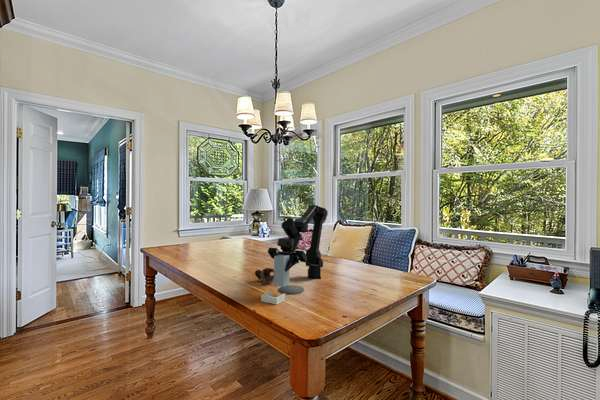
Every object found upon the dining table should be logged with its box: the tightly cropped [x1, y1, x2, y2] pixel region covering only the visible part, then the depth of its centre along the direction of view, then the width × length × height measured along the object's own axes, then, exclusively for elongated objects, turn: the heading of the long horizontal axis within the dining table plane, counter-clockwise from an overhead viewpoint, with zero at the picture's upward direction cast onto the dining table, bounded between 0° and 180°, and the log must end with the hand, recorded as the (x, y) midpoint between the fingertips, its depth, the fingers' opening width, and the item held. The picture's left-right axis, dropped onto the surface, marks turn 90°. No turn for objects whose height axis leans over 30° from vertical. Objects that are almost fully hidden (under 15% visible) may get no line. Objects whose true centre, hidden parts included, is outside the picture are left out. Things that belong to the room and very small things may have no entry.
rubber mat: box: [278, 284, 305, 295], centre depth 137 cm, size 12×12×1 cm
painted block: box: [273, 254, 290, 288], centre depth 129 cm, size 5×5×13 cm
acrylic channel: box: [260, 290, 286, 305], centre depth 123 cm, size 7×8×2 cm
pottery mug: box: [254, 267, 274, 285], centre depth 150 cm, size 12×10×8 cm
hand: (280, 270), depth 128 cm, fingers closed on painted block, 5 cm apart
